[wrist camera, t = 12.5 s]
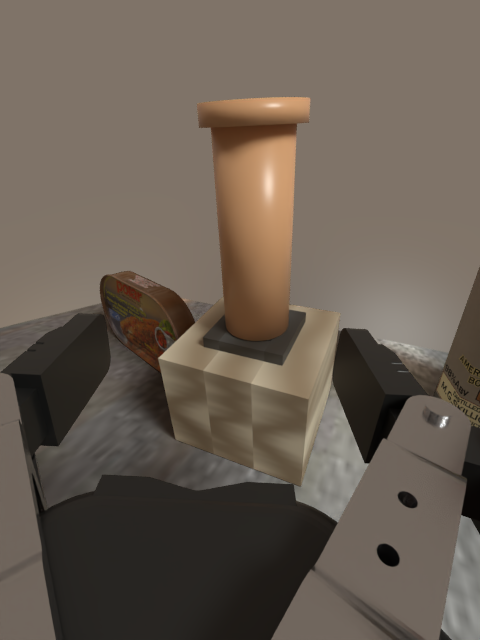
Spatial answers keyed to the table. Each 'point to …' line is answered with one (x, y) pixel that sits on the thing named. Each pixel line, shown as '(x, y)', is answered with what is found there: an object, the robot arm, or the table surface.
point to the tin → (144, 314)
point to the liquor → (464, 362)
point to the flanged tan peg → (255, 207)
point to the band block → (252, 390)
